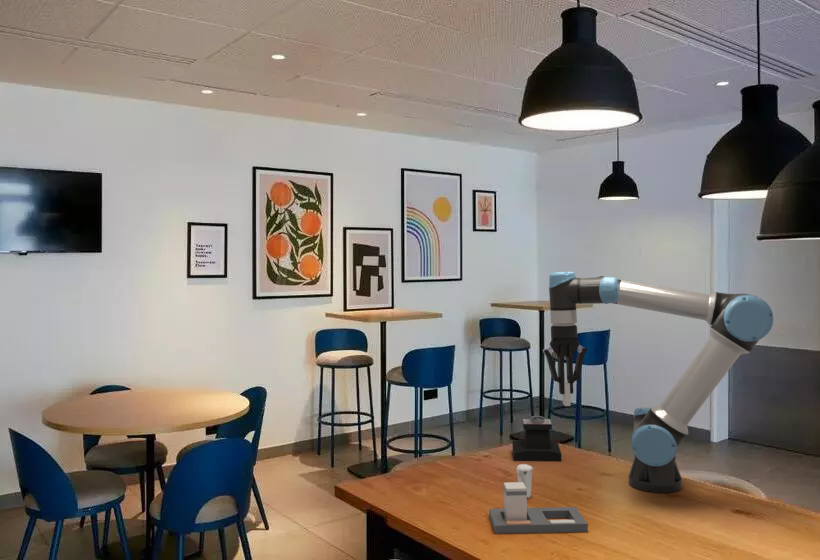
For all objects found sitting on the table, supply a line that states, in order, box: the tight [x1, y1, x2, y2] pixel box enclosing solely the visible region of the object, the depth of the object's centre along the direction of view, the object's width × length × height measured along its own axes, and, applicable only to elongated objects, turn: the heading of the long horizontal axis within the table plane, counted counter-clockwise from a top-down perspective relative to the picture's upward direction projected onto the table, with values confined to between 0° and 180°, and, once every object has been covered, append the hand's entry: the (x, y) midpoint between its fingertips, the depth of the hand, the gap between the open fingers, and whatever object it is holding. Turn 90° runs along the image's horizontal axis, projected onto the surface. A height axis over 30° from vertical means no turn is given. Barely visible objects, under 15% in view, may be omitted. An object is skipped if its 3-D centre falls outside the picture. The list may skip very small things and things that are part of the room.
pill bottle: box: [516, 462, 536, 499], centre depth 197 cm, size 5×5×10 cm
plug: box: [503, 481, 528, 522], centre depth 176 cm, size 5×5×10 cm
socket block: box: [488, 506, 589, 535], centre depth 176 cm, size 23×12×2 cm, turn 90°
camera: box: [512, 415, 562, 463], centre depth 239 cm, size 16×14×15 cm
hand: (566, 405), depth 201 cm, fingers closed
